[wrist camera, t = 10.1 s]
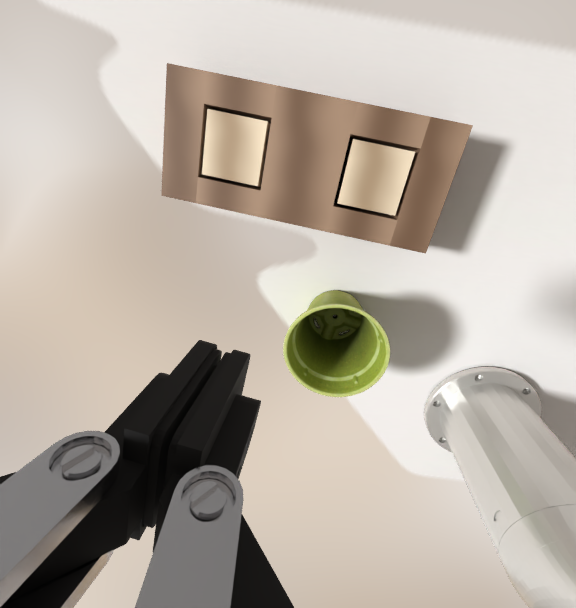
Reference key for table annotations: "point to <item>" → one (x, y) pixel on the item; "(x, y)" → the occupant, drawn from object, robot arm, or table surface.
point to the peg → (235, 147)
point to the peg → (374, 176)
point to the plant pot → (336, 347)
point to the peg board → (308, 156)
